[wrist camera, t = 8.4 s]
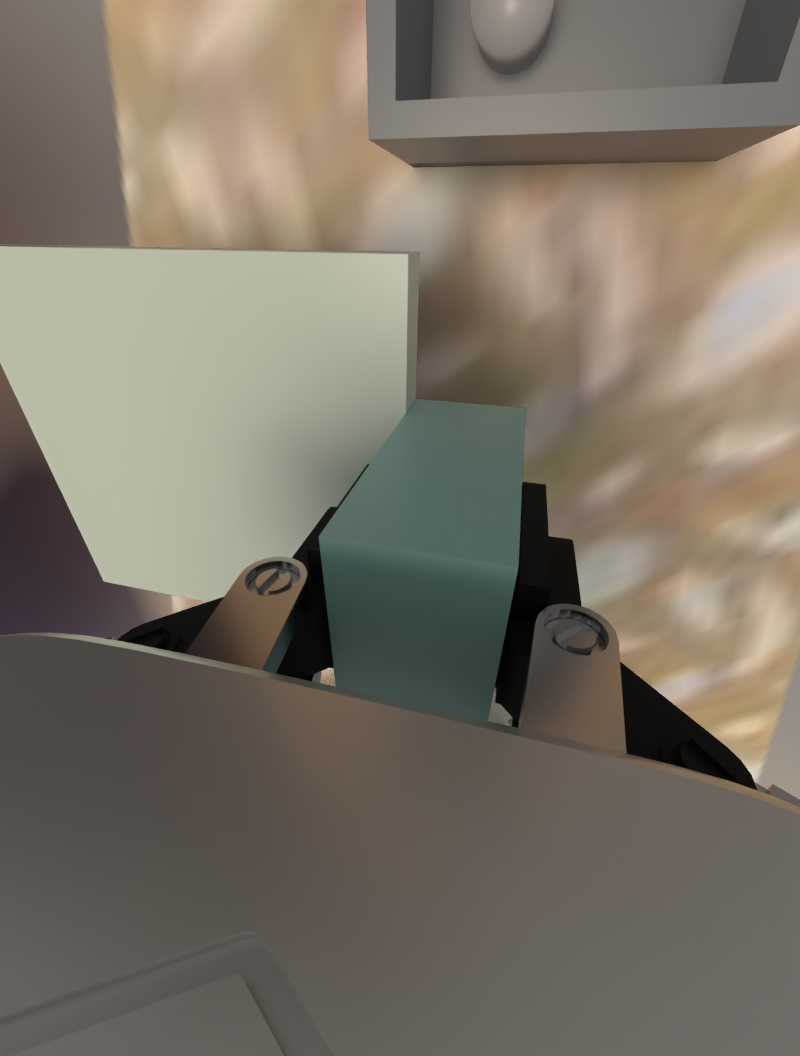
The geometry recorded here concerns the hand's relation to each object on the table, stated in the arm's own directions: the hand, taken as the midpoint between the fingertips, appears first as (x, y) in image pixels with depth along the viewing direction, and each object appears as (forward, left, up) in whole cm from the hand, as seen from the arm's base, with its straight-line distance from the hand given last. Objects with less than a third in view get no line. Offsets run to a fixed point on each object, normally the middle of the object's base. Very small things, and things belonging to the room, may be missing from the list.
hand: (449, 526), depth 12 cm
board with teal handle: (0, +7, -2) cm, 7 cm away
